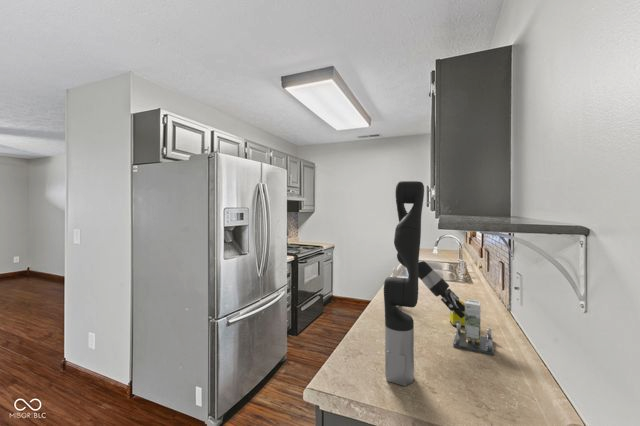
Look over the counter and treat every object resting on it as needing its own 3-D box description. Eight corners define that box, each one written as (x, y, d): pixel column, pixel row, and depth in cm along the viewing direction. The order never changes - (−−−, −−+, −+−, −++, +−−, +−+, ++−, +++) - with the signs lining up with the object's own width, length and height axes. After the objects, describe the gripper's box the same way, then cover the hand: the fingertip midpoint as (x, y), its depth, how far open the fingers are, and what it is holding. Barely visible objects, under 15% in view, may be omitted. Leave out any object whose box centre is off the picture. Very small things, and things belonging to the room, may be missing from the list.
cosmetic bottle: (390, 306, 162) (390, 268, 162) (389, 303, 168) (389, 266, 168) (401, 307, 161) (400, 269, 161) (399, 303, 167) (399, 267, 167)
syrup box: (480, 335, 118) (480, 300, 118) (480, 340, 113) (480, 304, 113) (465, 332, 121) (465, 298, 120) (464, 337, 116) (464, 302, 115)
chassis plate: (493, 355, 107) (493, 342, 107) (453, 347, 114) (453, 334, 114) (492, 340, 119) (492, 328, 119) (455, 333, 126) (455, 322, 126)
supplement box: (466, 327, 133) (466, 304, 133) (452, 326, 134) (452, 303, 134) (462, 322, 139) (462, 300, 139) (449, 321, 140) (449, 299, 140)
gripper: (438, 281, 116) (470, 313, 111) (443, 274, 129) (471, 303, 123) (425, 292, 119) (455, 324, 113) (431, 284, 131) (458, 313, 126)
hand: (464, 313), depth 118 cm, fingers open, 8 cm apart
